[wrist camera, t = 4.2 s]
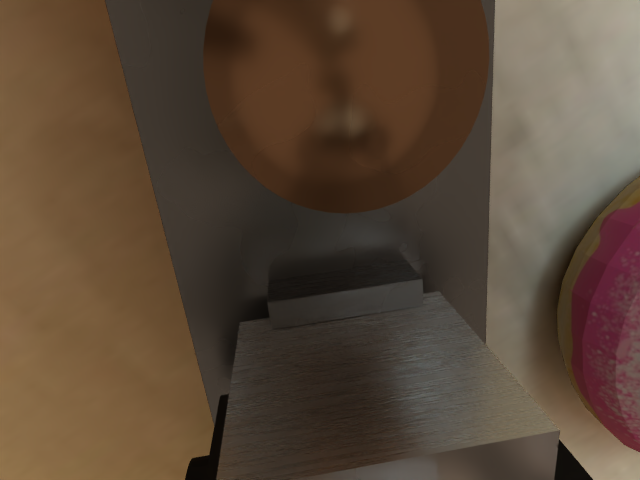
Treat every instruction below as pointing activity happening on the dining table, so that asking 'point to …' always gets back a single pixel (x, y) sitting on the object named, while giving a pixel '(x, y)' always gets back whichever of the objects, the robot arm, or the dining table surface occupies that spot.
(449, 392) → the lever cap
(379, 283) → the plane body
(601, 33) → the dining table surface
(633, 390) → the donut
